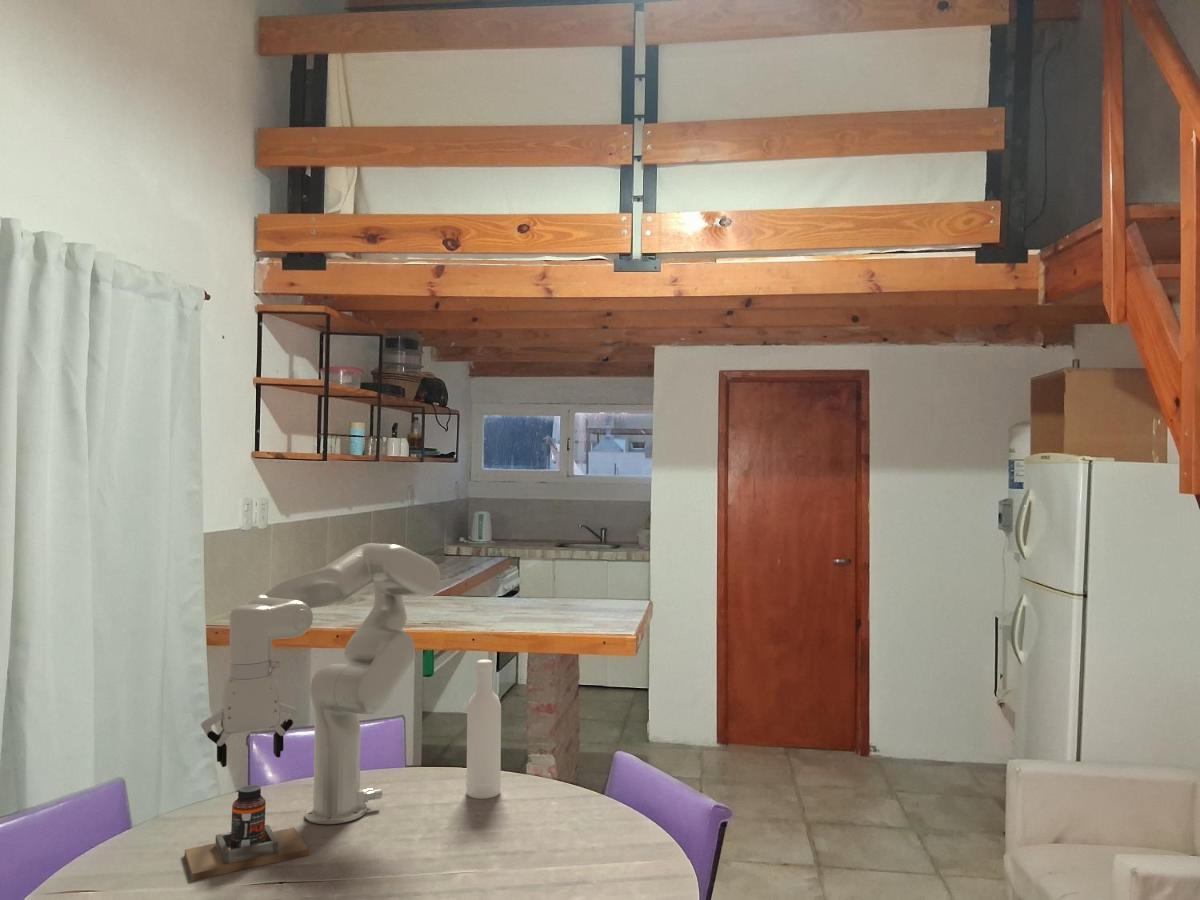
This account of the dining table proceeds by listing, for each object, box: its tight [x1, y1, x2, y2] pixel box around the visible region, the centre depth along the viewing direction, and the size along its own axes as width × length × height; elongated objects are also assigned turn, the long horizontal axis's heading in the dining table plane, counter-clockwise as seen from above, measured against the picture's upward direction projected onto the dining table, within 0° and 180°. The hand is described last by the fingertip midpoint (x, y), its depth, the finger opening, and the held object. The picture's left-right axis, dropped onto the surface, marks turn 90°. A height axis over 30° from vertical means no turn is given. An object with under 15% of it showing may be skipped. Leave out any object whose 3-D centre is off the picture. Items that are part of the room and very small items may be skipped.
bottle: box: [465, 659, 502, 800], centre depth 195 cm, size 8×8×30 cm
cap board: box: [184, 824, 309, 881], centre depth 161 cm, size 20×12×3 cm, turn 122°
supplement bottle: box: [230, 784, 267, 849], centre depth 161 cm, size 6×6×11 cm
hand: (250, 760), depth 162 cm, fingers open, 9 cm apart
